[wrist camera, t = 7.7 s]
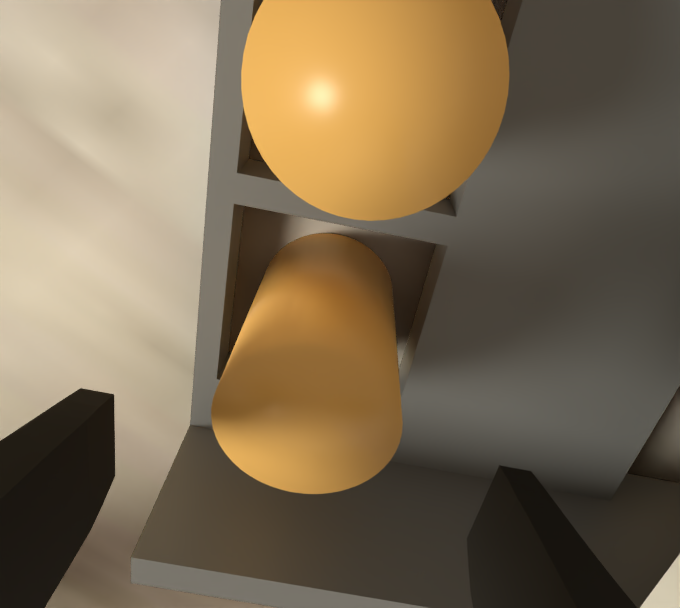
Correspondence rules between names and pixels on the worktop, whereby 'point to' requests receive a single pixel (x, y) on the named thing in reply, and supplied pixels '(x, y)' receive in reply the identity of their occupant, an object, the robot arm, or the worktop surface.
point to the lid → (666, 589)
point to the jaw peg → (314, 371)
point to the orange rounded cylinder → (374, 99)
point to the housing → (470, 336)
